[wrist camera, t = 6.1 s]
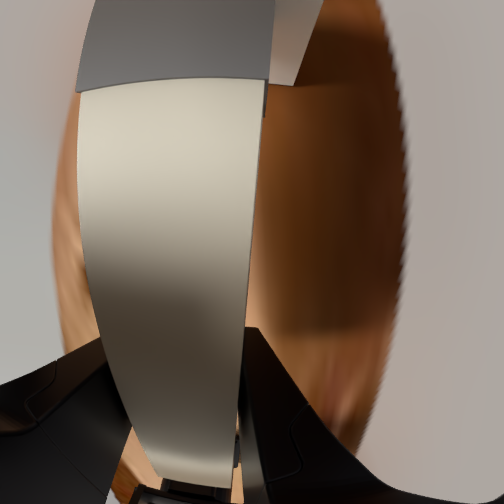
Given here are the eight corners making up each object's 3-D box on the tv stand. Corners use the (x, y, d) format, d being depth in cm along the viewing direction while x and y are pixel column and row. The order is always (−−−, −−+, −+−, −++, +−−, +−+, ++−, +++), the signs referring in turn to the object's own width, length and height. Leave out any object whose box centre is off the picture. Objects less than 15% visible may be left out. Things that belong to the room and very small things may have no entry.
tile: (293, 86, 10) (338, -39, 3) (181, 81, 10) (97, -25, 3) (295, 46, 10) (330, -79, 2) (188, 42, 10) (127, -70, 2)
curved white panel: (238, 408, 11) (231, 490, 7) (177, 400, 11) (156, 478, 7) (272, 22, 6) (281, -70, 2) (177, 22, 6) (116, -52, 2)
